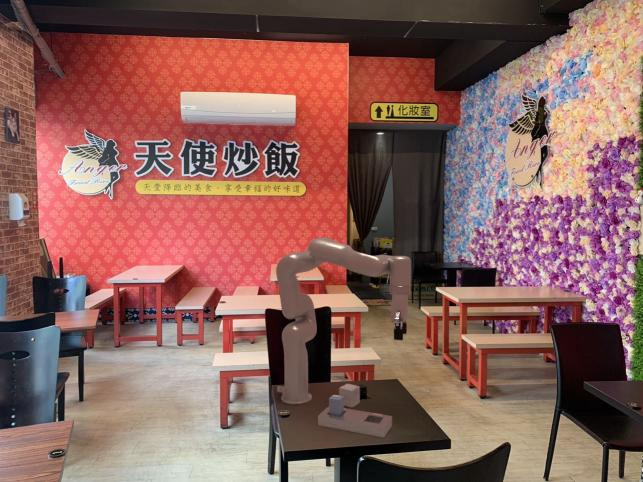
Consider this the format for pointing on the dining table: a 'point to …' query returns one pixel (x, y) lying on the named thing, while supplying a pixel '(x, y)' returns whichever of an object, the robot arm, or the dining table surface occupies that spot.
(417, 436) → the dining table surface
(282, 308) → the robot arm
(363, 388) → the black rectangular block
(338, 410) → the plug
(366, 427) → the panel
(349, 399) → the product box
